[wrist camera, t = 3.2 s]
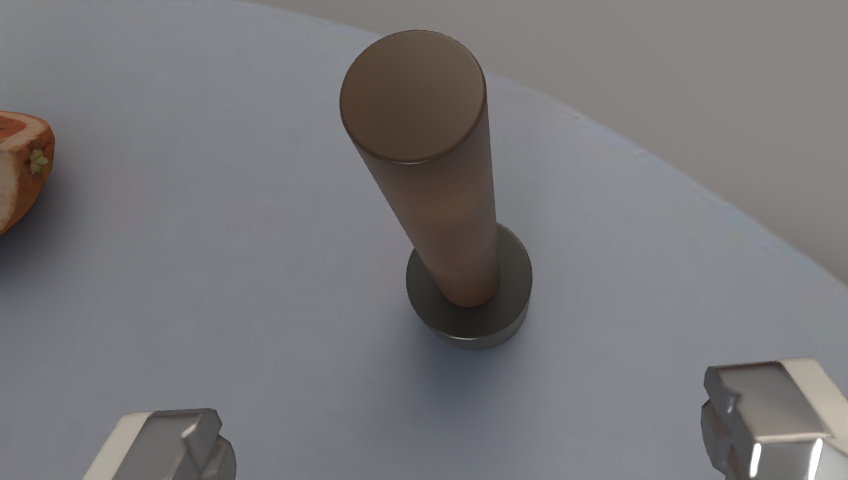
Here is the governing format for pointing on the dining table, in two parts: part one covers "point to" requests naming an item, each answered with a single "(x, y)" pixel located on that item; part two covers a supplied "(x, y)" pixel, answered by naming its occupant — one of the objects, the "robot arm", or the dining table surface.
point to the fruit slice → (22, 163)
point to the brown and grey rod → (439, 183)
